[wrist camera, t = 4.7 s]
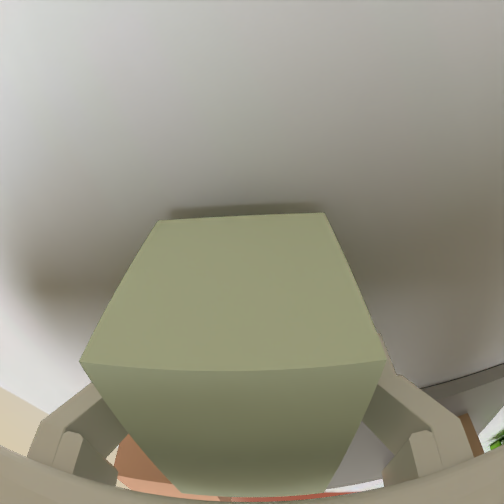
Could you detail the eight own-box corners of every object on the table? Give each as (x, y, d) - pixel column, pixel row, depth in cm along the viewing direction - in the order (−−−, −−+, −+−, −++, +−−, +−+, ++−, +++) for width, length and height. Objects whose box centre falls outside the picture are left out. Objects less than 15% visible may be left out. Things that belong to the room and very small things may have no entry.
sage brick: (324, 212, 8) (386, 359, 4) (309, 377, 12) (323, 492, 7) (157, 220, 8) (79, 361, 4) (197, 379, 12) (181, 493, 8)
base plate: (527, 354, 14) (564, 416, 9) (456, 446, 21) (471, 494, 16) (349, 402, 15) (370, 504, 9) (321, 480, 22) (328, 537, 16)
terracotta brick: (218, 395, 14) (211, 487, 10) (232, 449, 18) (230, 515, 13) (133, 391, 14) (111, 474, 10) (167, 446, 18) (158, 509, 13)
